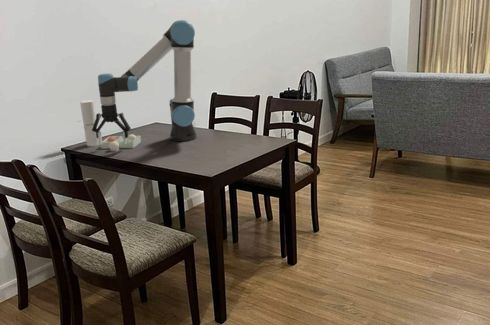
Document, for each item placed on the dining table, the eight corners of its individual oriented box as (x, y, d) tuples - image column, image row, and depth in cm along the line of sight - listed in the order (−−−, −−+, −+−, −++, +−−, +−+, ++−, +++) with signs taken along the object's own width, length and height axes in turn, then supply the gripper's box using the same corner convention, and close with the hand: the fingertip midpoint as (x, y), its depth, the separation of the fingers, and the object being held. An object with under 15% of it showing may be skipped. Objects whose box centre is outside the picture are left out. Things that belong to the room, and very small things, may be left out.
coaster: (119, 150, 262) (119, 148, 261) (117, 152, 258) (116, 150, 258) (112, 150, 262) (112, 148, 262) (110, 152, 258) (110, 150, 258)
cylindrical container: (96, 147, 270) (89, 102, 263) (84, 147, 272) (77, 102, 265) (102, 143, 277) (96, 100, 270) (90, 143, 278) (84, 100, 271)
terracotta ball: (118, 143, 272) (117, 135, 271) (115, 146, 268) (113, 137, 266) (109, 144, 273) (108, 135, 271) (106, 146, 268) (105, 137, 267)
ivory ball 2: (138, 141, 274) (137, 133, 273) (135, 144, 270) (134, 135, 268) (129, 142, 275) (128, 133, 273) (126, 144, 270) (125, 135, 269)
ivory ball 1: (121, 149, 262) (119, 140, 261) (117, 151, 257) (116, 142, 256) (112, 149, 263) (110, 140, 261) (108, 152, 258) (107, 142, 256)
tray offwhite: (123, 143, 276) (122, 136, 275) (114, 149, 264) (113, 142, 263) (110, 143, 277) (109, 136, 276) (101, 149, 265) (100, 142, 263)
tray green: (141, 142, 275) (140, 135, 274) (133, 148, 263) (132, 141, 261) (128, 142, 276) (127, 136, 275) (119, 149, 263) (118, 142, 262)
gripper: (134, 102, 255) (138, 141, 261) (88, 103, 258) (93, 142, 264) (129, 105, 248) (133, 145, 254) (82, 105, 251) (87, 145, 257)
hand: (113, 144), depth 259 cm, fingers open, 13 cm apart
